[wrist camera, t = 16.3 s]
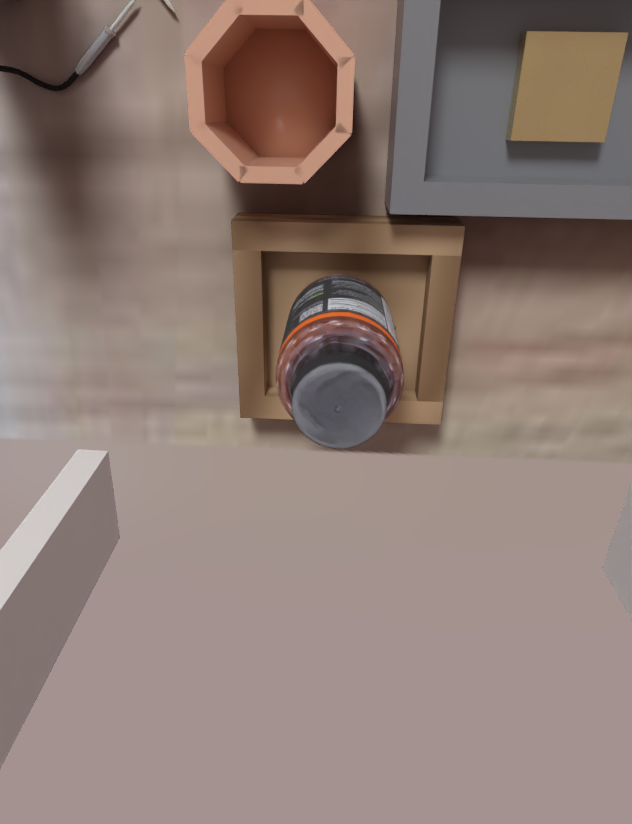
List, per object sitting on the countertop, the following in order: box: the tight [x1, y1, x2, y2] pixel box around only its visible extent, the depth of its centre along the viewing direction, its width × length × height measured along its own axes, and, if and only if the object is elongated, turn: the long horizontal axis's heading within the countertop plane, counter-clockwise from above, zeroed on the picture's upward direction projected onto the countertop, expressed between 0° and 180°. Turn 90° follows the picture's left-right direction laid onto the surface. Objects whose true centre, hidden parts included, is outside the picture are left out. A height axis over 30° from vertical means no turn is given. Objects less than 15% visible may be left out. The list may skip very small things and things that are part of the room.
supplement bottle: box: [275, 274, 404, 449], centre depth 30 cm, size 6×6×11 cm
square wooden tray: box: [231, 213, 465, 425], centre depth 35 cm, size 12×12×2 cm
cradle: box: [385, 0, 632, 220], centre depth 28 cm, size 16×11×4 cm
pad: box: [506, 31, 628, 142], centre depth 28 cm, size 4×4×1 cm
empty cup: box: [184, 0, 355, 184], centre depth 28 cm, size 7×7×6 cm
